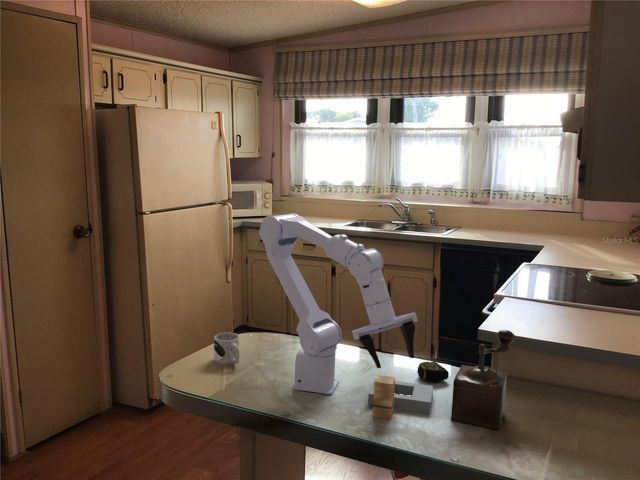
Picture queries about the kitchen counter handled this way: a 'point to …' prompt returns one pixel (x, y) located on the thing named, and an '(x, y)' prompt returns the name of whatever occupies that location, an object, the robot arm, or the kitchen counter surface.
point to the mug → (226, 348)
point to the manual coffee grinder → (481, 390)
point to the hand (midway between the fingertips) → (395, 362)
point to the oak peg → (383, 396)
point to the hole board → (416, 401)
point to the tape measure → (432, 372)
